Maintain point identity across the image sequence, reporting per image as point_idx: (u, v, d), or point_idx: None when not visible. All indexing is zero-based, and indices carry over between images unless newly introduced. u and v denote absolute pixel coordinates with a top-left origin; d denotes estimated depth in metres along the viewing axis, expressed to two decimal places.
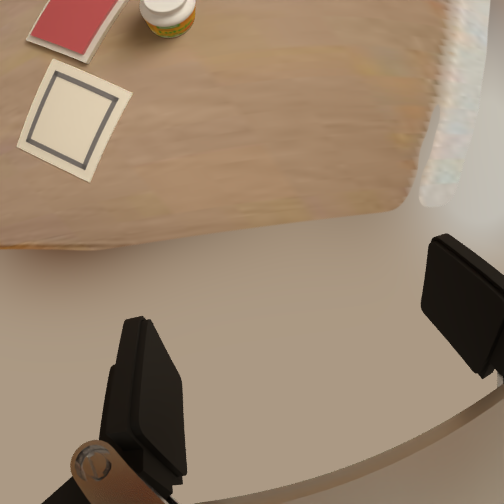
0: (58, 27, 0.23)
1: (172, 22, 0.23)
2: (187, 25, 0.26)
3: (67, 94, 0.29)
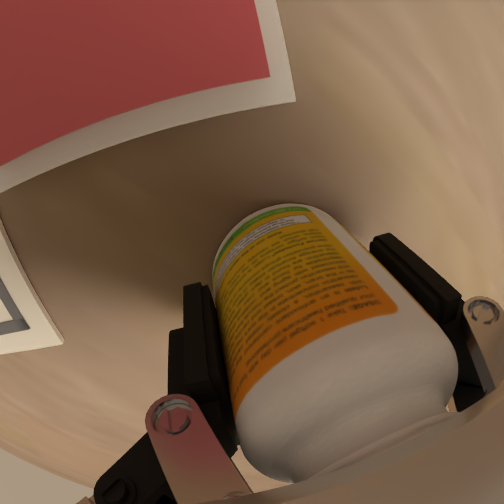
0: None
1: None
2: None
3: None
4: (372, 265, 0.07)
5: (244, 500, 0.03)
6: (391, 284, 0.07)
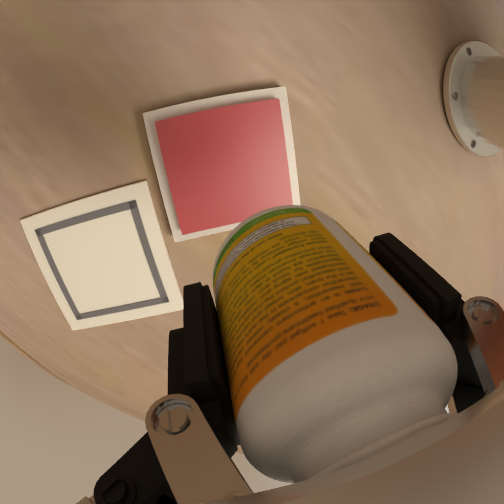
0: (193, 164, 0.21)
1: None
2: None
3: (122, 242, 0.24)
4: (372, 267, 0.07)
5: (244, 500, 0.03)
6: (391, 286, 0.07)
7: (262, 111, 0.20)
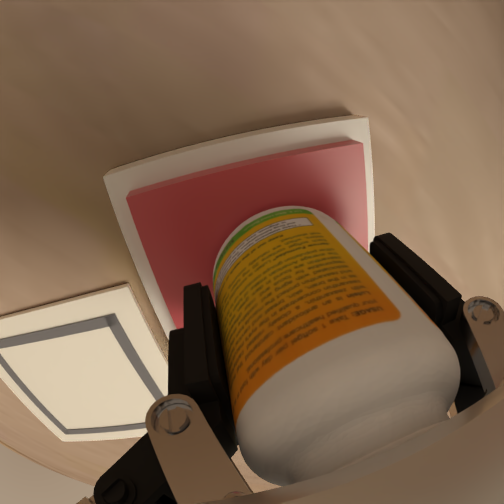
0: (207, 272, 0.12)
1: None
2: None
3: (106, 365, 0.15)
4: (374, 269, 0.07)
5: (244, 500, 0.03)
6: (394, 289, 0.06)
7: (333, 168, 0.11)
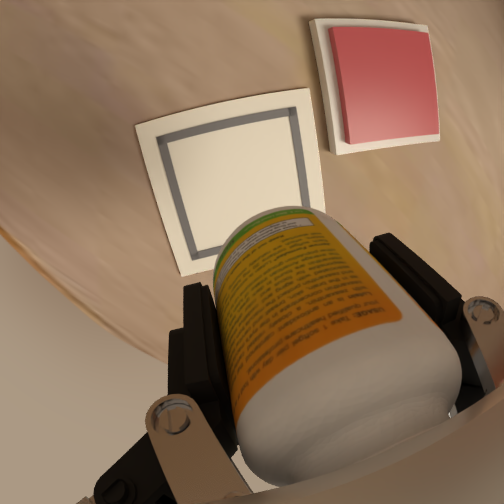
0: (366, 74, 0.18)
1: None
2: None
3: (274, 155, 0.21)
4: (376, 270, 0.07)
5: (244, 500, 0.03)
6: (395, 290, 0.06)
7: (417, 40, 0.17)
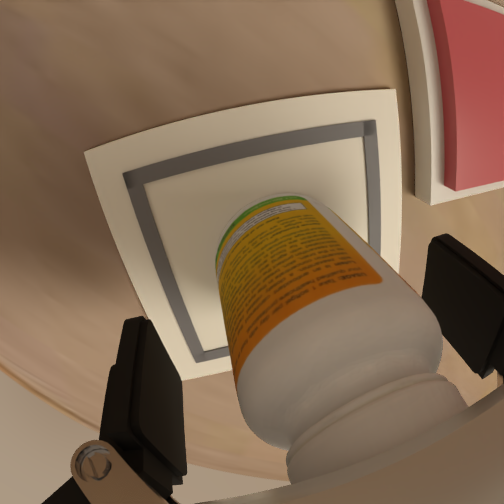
0: (482, 77, 0.09)
1: None
2: None
3: (335, 203, 0.12)
4: (361, 245, 0.08)
5: (244, 500, 0.03)
6: (378, 261, 0.07)
7: None
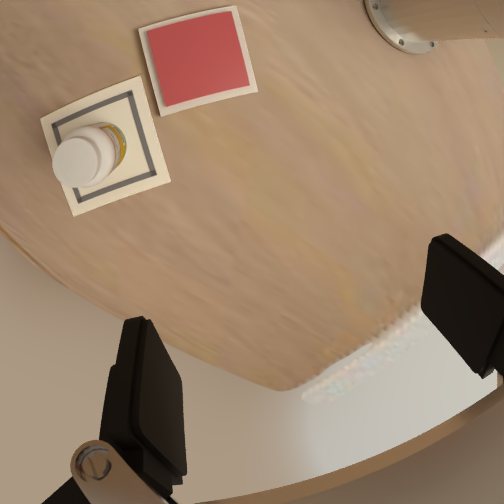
0: (173, 55, 0.25)
1: None
2: None
3: (120, 124, 0.29)
4: (98, 124, 0.24)
5: (244, 500, 0.03)
6: (96, 125, 0.24)
7: (220, 19, 0.24)
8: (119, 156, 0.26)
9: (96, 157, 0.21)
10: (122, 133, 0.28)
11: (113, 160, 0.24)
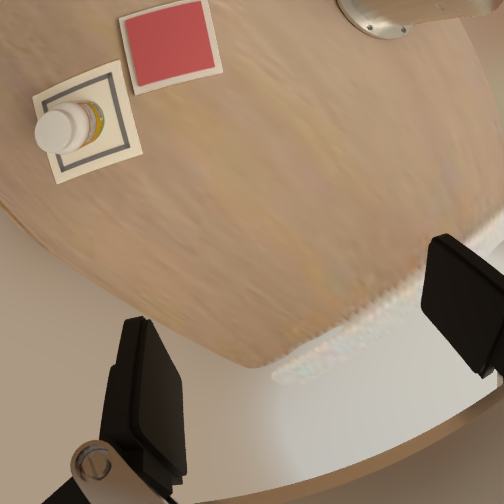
0: (147, 41, 0.27)
1: None
2: None
3: (100, 102, 0.30)
4: (78, 101, 0.26)
5: (244, 500, 0.03)
6: (76, 101, 0.25)
7: (190, 8, 0.26)
8: (95, 129, 0.28)
9: (70, 126, 0.23)
10: (101, 110, 0.30)
11: (87, 131, 0.26)
